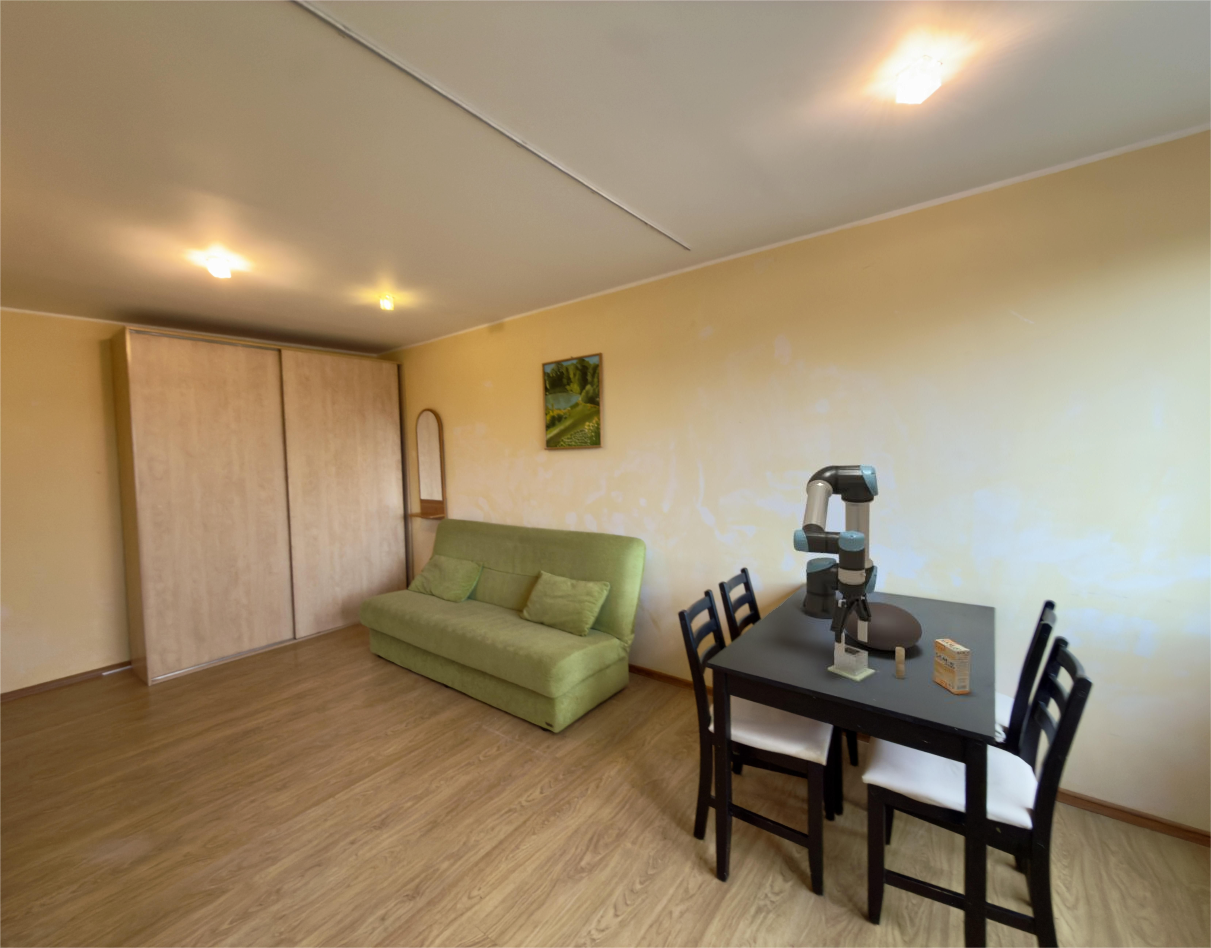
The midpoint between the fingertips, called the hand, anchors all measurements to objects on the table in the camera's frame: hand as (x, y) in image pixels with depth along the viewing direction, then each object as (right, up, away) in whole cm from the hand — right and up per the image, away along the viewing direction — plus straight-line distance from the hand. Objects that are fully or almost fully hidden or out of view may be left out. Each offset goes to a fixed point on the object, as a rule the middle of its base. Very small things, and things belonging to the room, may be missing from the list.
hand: (851, 646), depth 156 cm
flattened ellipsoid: (+20, -7, +19) cm, 28 cm away
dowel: (+13, -8, -4) cm, 16 cm away
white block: (0, -7, 0) cm, 7 cm away
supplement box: (+24, -8, -11) cm, 28 cm away
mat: (0, -8, 0) cm, 8 cm away
